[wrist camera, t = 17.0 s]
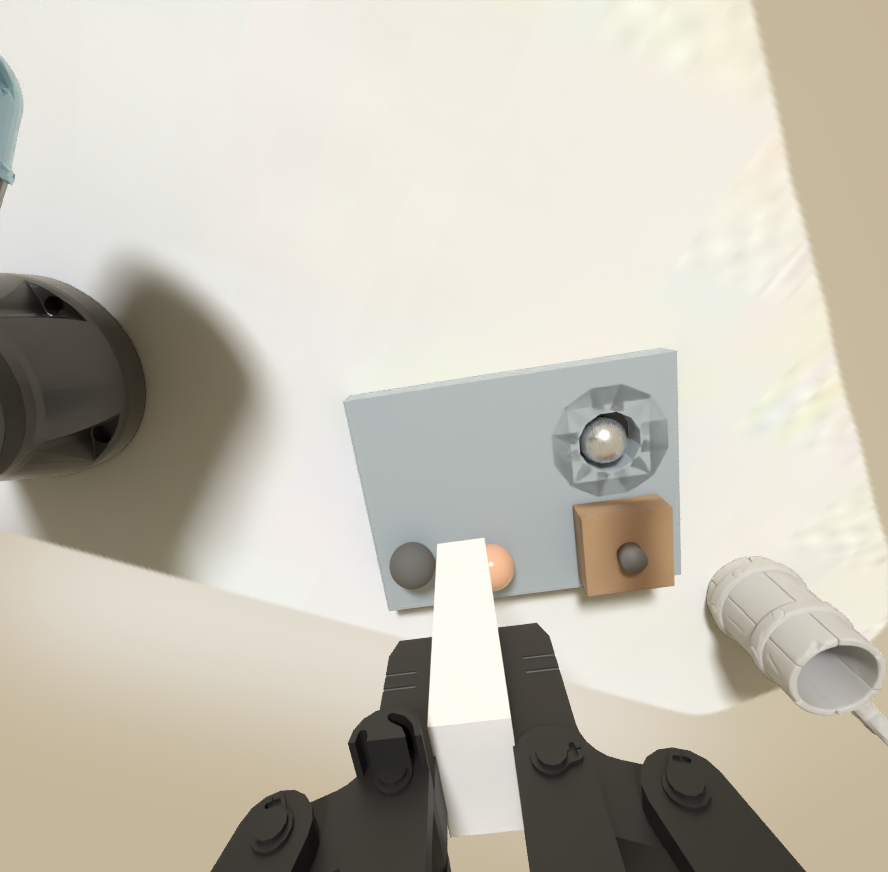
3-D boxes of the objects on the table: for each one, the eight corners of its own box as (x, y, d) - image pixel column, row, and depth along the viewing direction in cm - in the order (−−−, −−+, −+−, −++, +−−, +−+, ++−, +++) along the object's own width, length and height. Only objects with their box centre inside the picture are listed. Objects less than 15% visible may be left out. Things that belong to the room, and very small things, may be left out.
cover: (578, 577, 37) (592, 606, 33) (572, 504, 35) (586, 527, 32) (659, 567, 36) (682, 595, 33) (657, 493, 35) (680, 514, 31)
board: (392, 593, 41) (388, 611, 38) (350, 395, 36) (343, 401, 33) (666, 558, 39) (681, 574, 37) (661, 347, 35) (676, 351, 32)
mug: (758, 535, 39) (889, 632, 27) (834, 621, 41) (986, 745, 29) (684, 589, 40) (778, 703, 29) (761, 670, 42) (878, 806, 31)
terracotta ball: (471, 576, 37) (473, 603, 34) (465, 538, 36) (466, 561, 33) (514, 571, 37) (520, 597, 34) (509, 532, 36) (515, 555, 33)
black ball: (396, 575, 37) (391, 601, 34) (388, 536, 36) (382, 560, 33) (439, 569, 37) (437, 595, 34) (432, 531, 36) (430, 554, 33)
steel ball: (581, 461, 33) (633, 458, 32) (577, 414, 34) (627, 410, 33) (580, 467, 36) (627, 464, 36) (576, 424, 37) (621, 420, 36)
